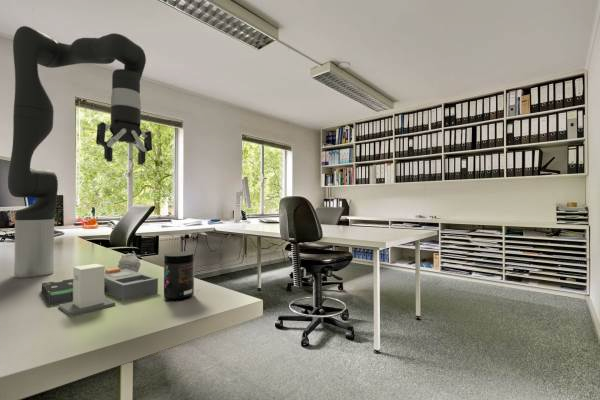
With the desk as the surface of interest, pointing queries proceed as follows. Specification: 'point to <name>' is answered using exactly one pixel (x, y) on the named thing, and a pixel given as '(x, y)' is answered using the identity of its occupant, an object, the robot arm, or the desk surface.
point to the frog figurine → (129, 262)
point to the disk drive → (58, 291)
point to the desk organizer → (128, 283)
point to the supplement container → (178, 276)
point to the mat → (75, 310)
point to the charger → (88, 285)
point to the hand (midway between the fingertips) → (125, 163)
